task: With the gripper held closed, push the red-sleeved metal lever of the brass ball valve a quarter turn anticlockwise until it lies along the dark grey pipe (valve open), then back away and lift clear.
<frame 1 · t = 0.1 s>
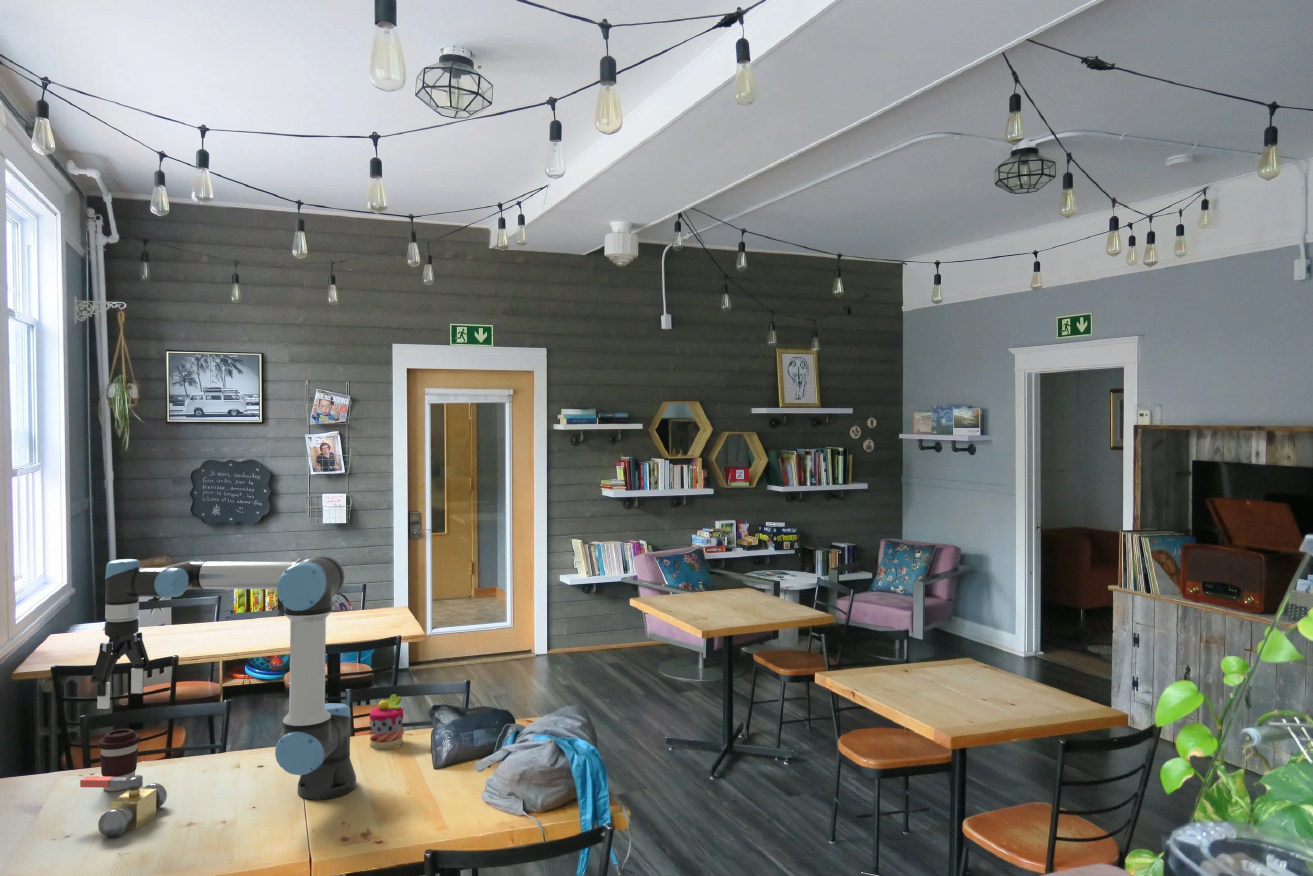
hand: (120, 700, 223), 28 cm above the table, fingers open, 13 cm apart
valve: (133, 822, 214), on the table
cake: (386, 745, 271), on the table
lever: (112, 782, 214), point 10 cm above the table, hinge at 0.0°
coffee cup: (118, 787, 236), on the table
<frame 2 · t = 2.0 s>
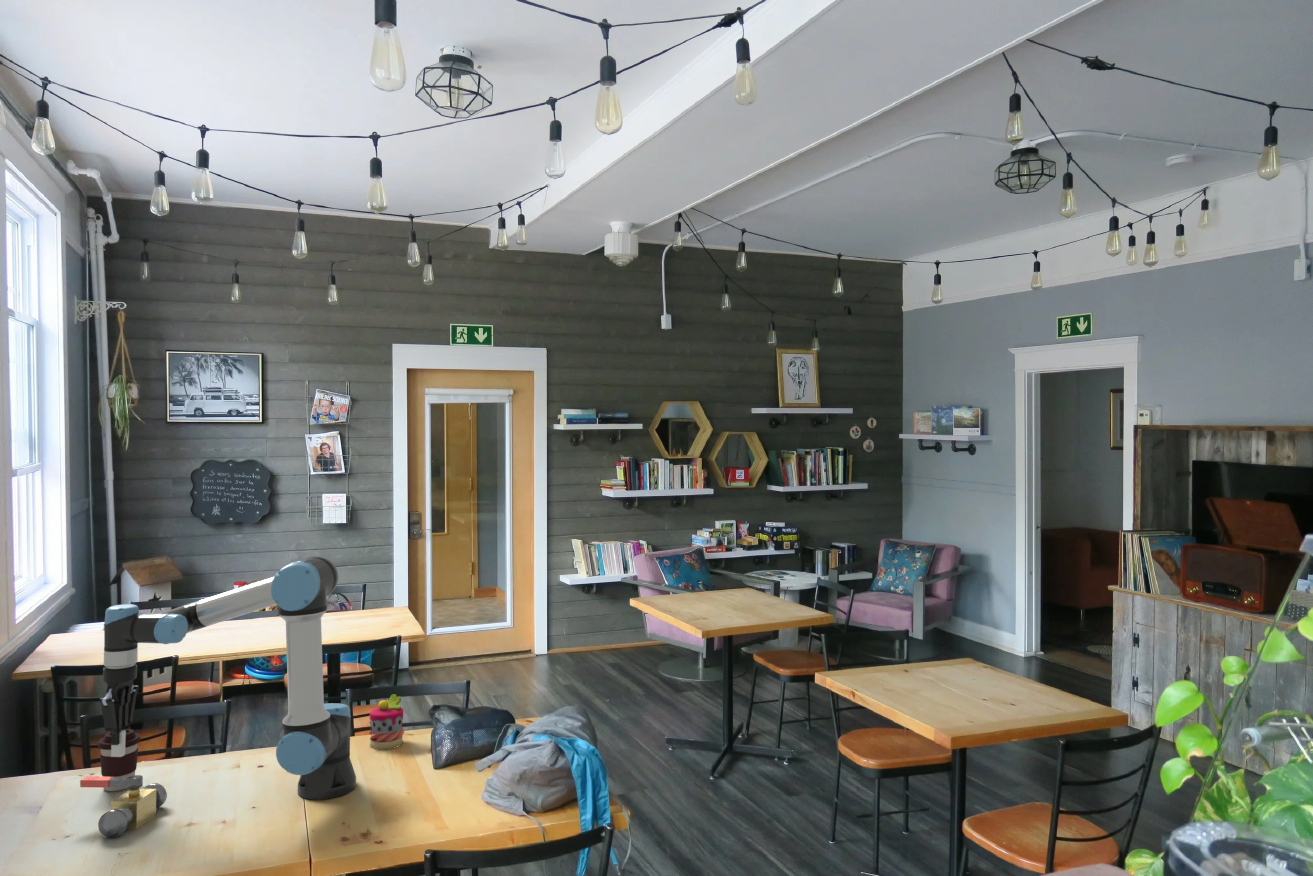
hand: (118, 755, 222), 14 cm above the table, fingers closed
nothing on the table moved.
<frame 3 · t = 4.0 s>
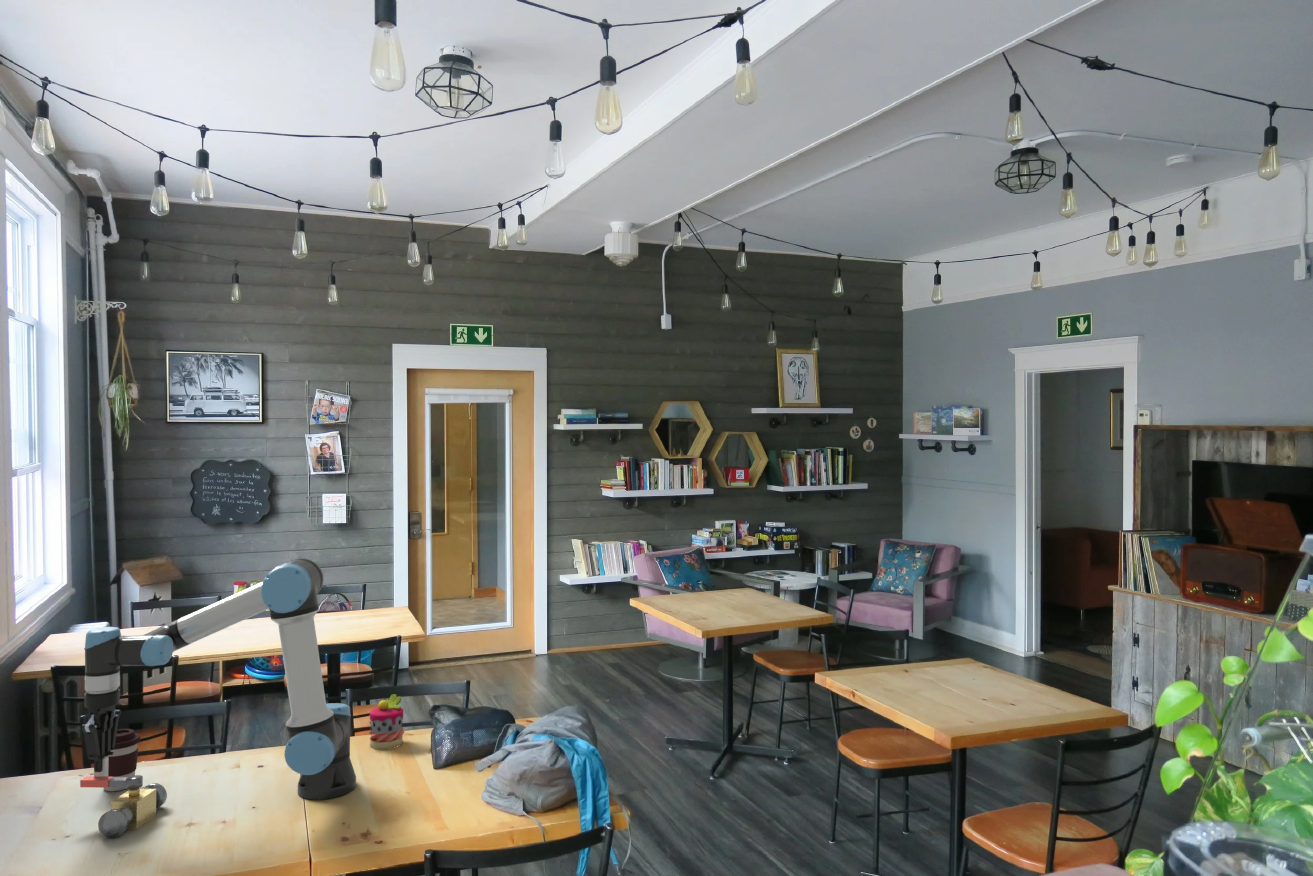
hand: (101, 783, 216), 9 cm above the table, fingers closed
lever: (112, 782, 214), point 10 cm above the table, hinge at 0.1°, touching gripper
everything else where it was.
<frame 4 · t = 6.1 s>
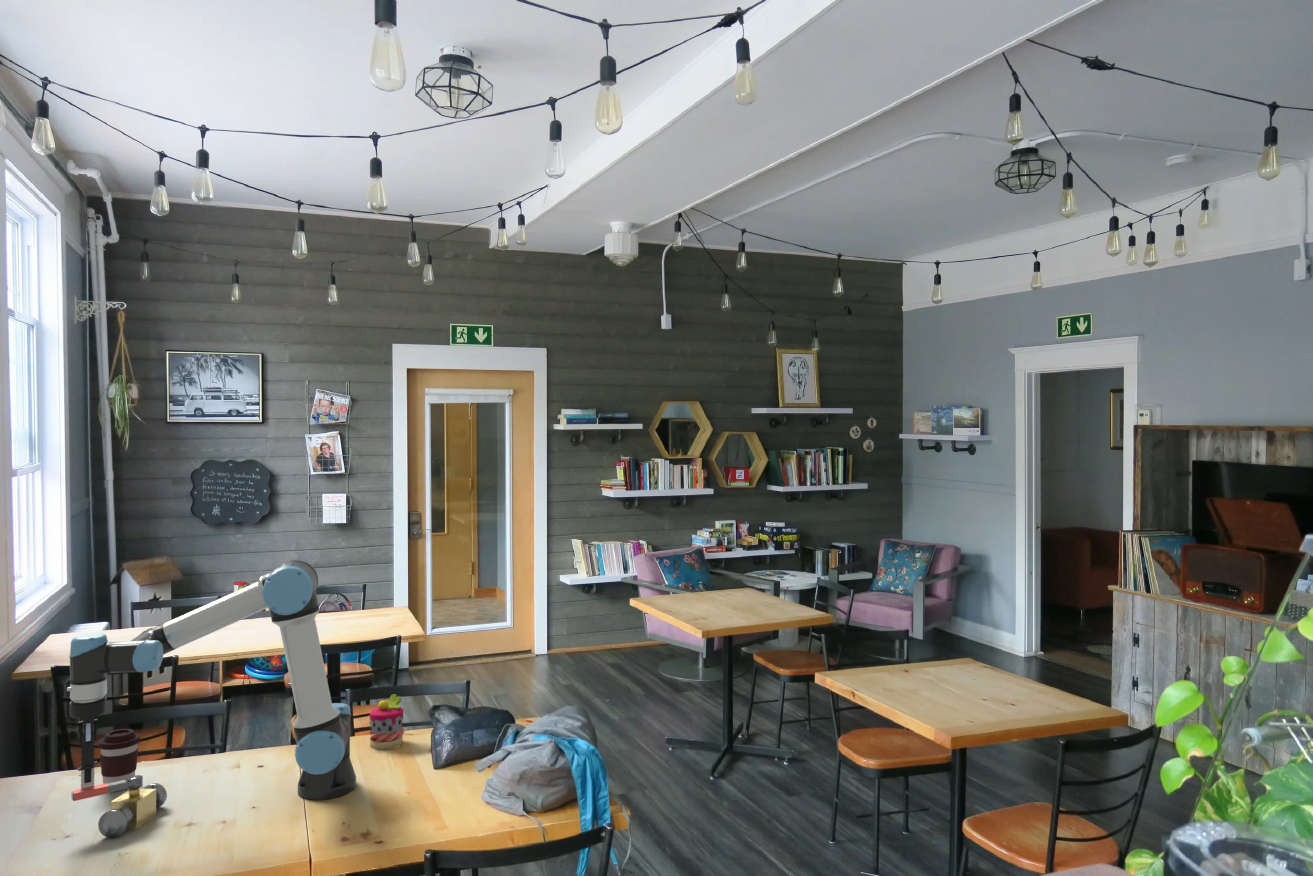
hand: (87, 794, 209), 9 cm above the table, fingers closed
lever: (108, 788, 211), point 10 cm above the table, hinge at 42.4°, touching gripper
everything else where it was.
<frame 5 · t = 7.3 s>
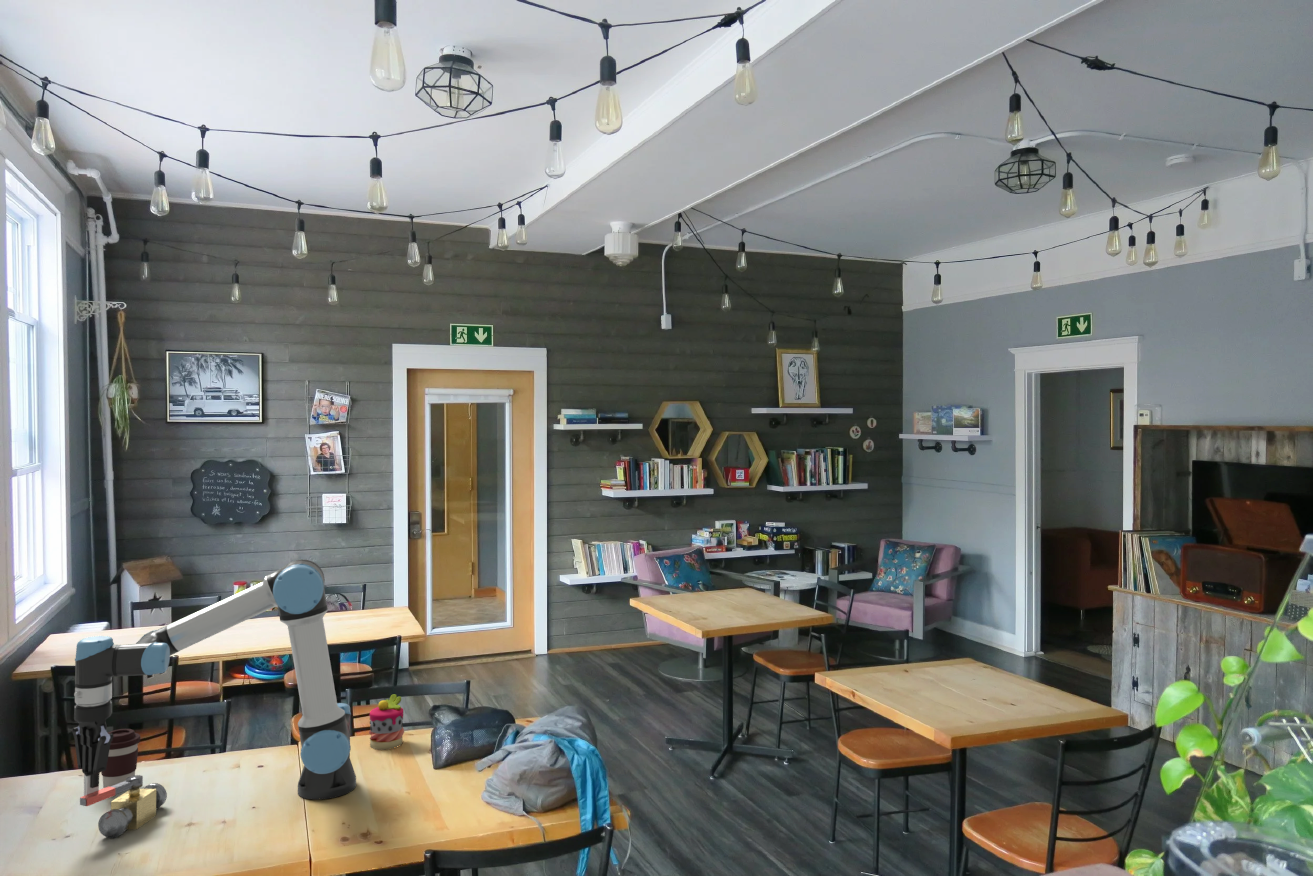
hand: (91, 799, 206), 9 cm above the table, fingers closed
lever: (112, 790, 209), point 10 cm above the table, hinge at 69.0°, touching gripper
everything else where it was.
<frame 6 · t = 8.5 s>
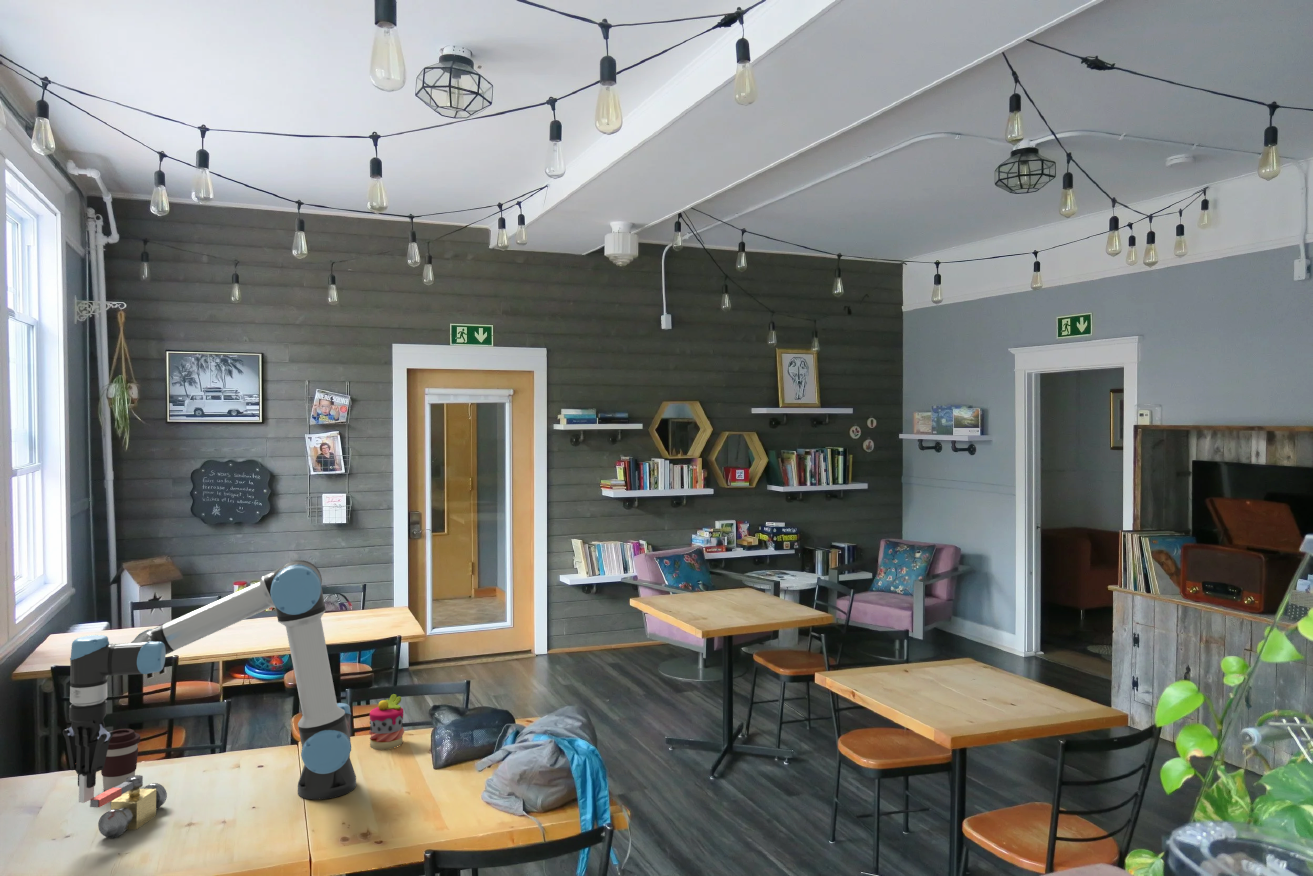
hand: (86, 800, 205), 9 cm above the table, fingers closed
lever: (117, 791, 209), point 10 cm above the table, hinge at 83.9°
everything else where it was.
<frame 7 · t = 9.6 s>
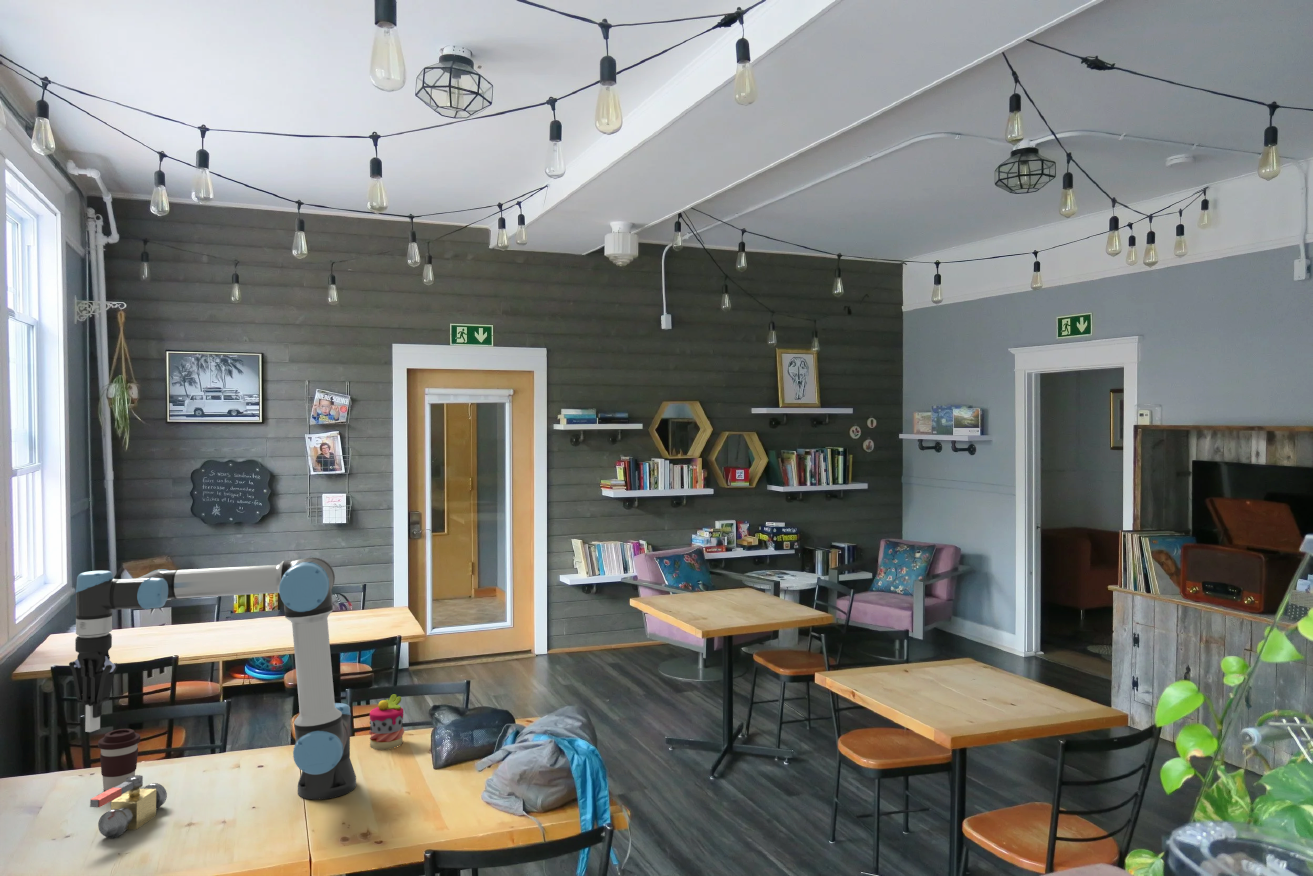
hand: (92, 730, 210), 24 cm above the table, fingers closed
nothing on the table moved.
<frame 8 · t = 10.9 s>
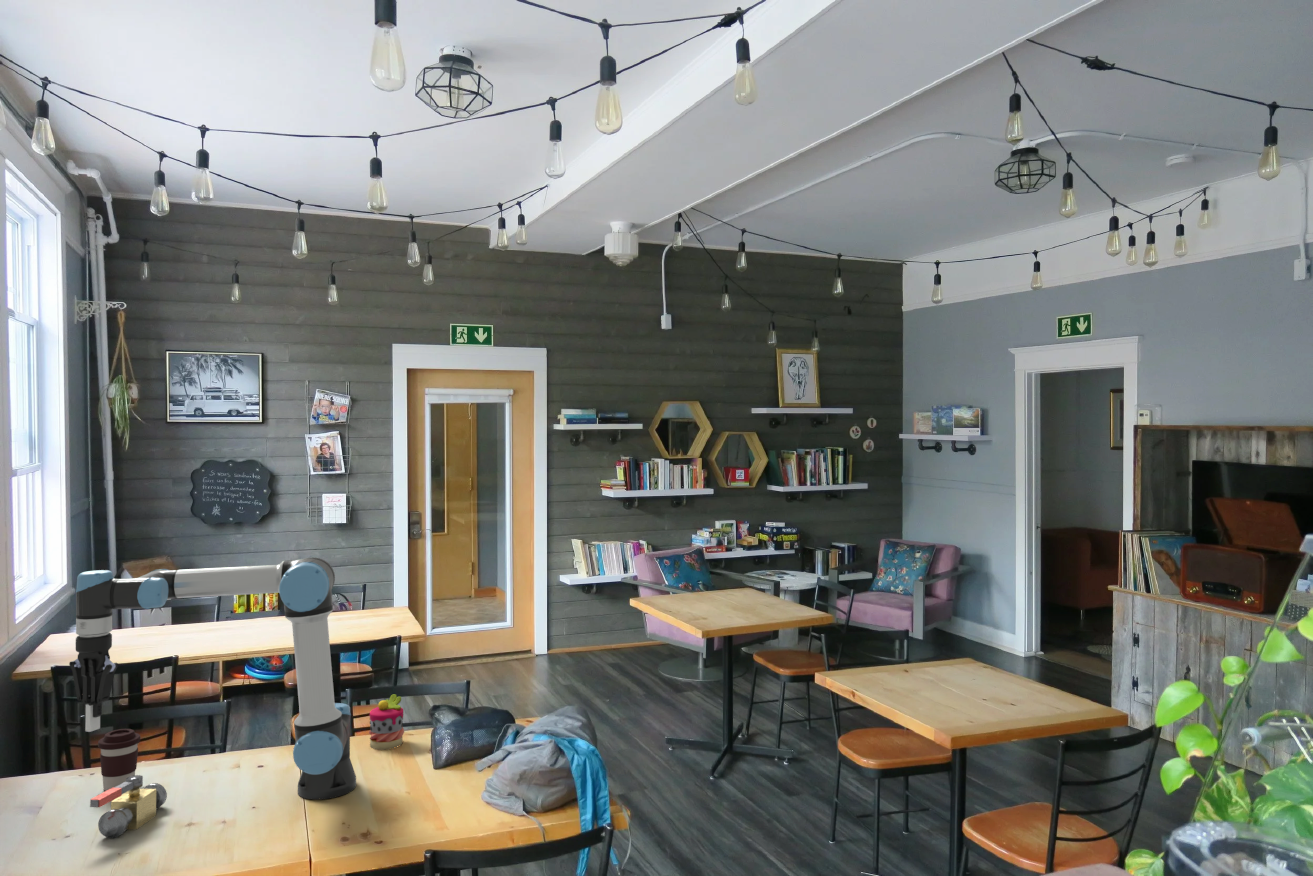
hand: (92, 729, 210), 24 cm above the table, fingers closed
nothing on the table moved.
at the end: lever at +84° (first picture: +0°); lever touching nothing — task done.
